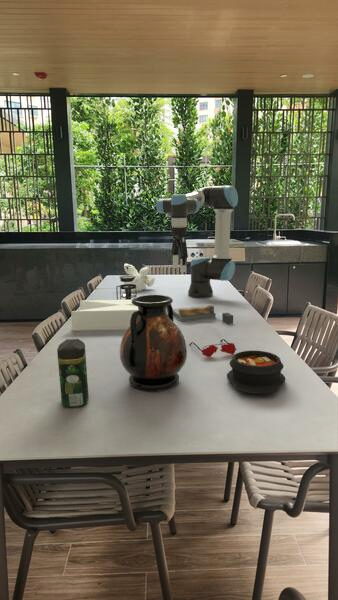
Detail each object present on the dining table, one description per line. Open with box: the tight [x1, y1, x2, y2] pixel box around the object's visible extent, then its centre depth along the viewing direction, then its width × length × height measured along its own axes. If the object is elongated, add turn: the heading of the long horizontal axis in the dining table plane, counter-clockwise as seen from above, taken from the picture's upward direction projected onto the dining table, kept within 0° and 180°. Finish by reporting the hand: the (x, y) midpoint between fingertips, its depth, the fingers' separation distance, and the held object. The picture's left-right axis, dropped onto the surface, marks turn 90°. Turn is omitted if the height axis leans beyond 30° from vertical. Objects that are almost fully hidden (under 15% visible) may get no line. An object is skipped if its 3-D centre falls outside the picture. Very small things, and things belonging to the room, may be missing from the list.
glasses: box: [188, 338, 237, 358], centre depth 174 cm, size 14×16×5 cm
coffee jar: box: [56, 338, 89, 409], centre depth 129 cm, size 10×8×19 cm
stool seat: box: [173, 305, 217, 322], centre depth 223 cm, size 18×16×2 cm
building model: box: [70, 298, 168, 332], centre depth 213 cm, size 45×22×10 cm, turn 91°
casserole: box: [226, 350, 287, 395], centre depth 142 cm, size 25×19×8 cm
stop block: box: [221, 312, 234, 325], centre depth 211 cm, size 3×6×4 cm, turn 17°
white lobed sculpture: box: [123, 263, 156, 293], centre depth 290 cm, size 19×20×20 cm
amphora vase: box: [119, 294, 188, 392], centre depth 141 cm, size 22×22×28 cm
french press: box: [115, 264, 138, 300], centre depth 242 cm, size 12×9×23 cm
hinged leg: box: [179, 305, 215, 316], centre depth 217 cm, size 18×4×3 cm, turn 107°
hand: (179, 269), depth 220 cm, fingers open, 13 cm apart
